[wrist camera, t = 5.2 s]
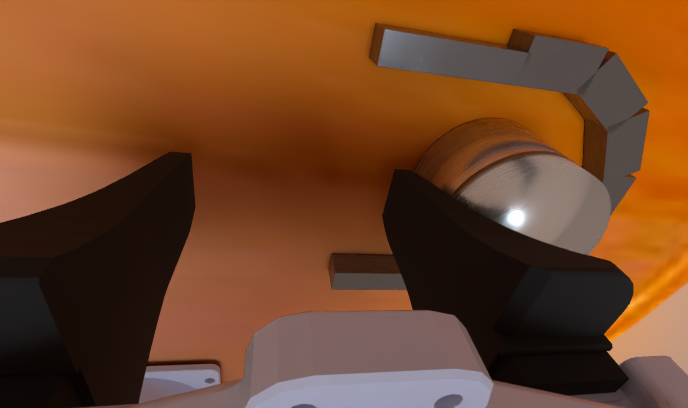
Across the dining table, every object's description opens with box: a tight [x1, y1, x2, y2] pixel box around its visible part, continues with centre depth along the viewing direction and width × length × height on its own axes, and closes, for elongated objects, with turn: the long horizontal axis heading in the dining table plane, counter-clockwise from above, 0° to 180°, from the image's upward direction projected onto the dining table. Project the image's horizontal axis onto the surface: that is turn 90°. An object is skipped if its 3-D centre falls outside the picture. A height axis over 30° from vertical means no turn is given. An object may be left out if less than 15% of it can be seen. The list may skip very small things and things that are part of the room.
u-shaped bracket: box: [329, 23, 649, 290], centre depth 15 cm, size 12×12×1 cm
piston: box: [415, 118, 611, 255], centre depth 13 cm, size 6×6×4 cm
